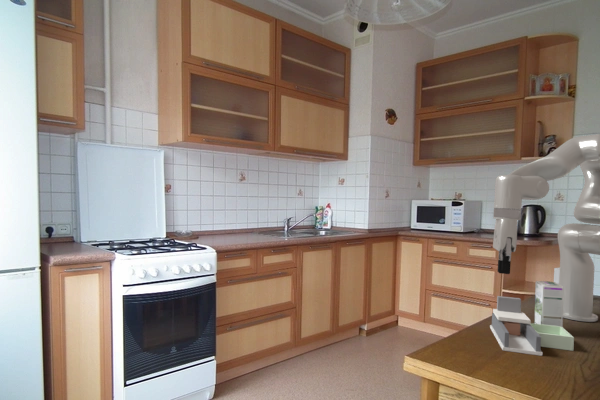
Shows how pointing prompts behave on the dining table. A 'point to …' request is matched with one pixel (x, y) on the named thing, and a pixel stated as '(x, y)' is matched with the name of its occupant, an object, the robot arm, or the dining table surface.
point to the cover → (510, 310)
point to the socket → (554, 336)
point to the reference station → (516, 336)
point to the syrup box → (548, 303)
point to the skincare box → (556, 275)
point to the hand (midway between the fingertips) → (503, 273)
